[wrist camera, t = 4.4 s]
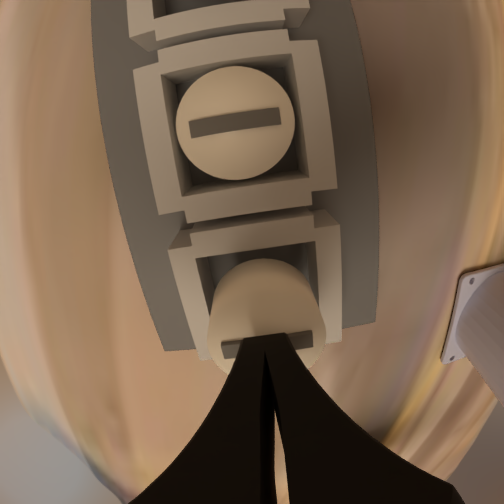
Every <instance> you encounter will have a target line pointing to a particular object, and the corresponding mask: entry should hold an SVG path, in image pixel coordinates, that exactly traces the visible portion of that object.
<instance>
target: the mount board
mask: <svg viewBox="0 0 504 504" xmlns="http://www.w3.org/2000/svg"><path fill="white" fill-rule="evenodd" d="M91 26H92V45H93V58H94V70H95V79H96V88H97V96H98V104H99V111H100V118H101V124H102V130H103V136H104V142H105V147H106V153H107V158H108V163H109V168H110V173H111V177H112V182H113V186H114V191H115V195H116V199H117V203H118V207H119V211H120V215H121V219H122V223H123V227H124V231H125V234H126V238H127V241H128V245H129V249H130V252H131V255H132V259H133V262H134V265H135V269H136V272H137V275H138V278H139V281H140V284H141V287H142V290H143V293H144V296H145V299H146V302H147V305H148V308H149V311H150V314H151V316H152V319H153V322H154V325H155V327H156V330H157V333H158V335H159V338H160V340H161V343H162V346H163V348H164V351H176V350H189V349H197V352H198V355H199V358H200V361H201V360H213V359H212V357H211V356H210V353H209V351H208V346H207V333H208V327H209V321H210V315H211V309H212V303H213V297H214V293H215V289H216V287H217V285H218V283H219V282H220V280H221V279H222V277H223V276H224V275H225V274H226V273H227V272H228V271H229V270H231V269H232V268H234V267H235V266H237V265H239V264H241V263H243V262H246V261H249V260H254V259H262V258H266V259H276V260H280V261H283V262H286V263H288V264H290V265H292V266H293V267H295V268H296V269H298V270H299V271H300V272H301V273H302V274H303V275H304V276H305V278H306V279H307V281H308V283H309V285H310V287H311V290H312V292H313V295H314V297H315V300H316V302H317V305H318V307H319V310H320V312H321V315H322V318H323V320H324V323H325V327H326V343H325V344H329V343H334V342H340V341H341V336H342V329H343V328H348V327H353V326H358V325H363V324H368V323H373V322H375V318H376V305H377V290H378V268H379V198H378V176H377V161H376V148H375V137H374V127H373V118H372V110H371V102H370V95H369V88H368V82H367V76H366V70H365V64H364V59H363V54H362V49H361V44H360V39H359V34H358V30H357V26H356V21H355V17H354V13H353V9H352V5H351V2H350V0H91ZM231 66H242V67H249V68H253V69H256V70H259V71H261V72H263V73H265V74H267V75H268V76H270V77H272V78H273V79H274V80H275V81H276V82H278V84H279V85H280V86H281V87H282V88H283V89H284V91H285V92H286V93H287V95H288V97H289V99H290V101H291V104H292V107H293V111H294V117H295V128H294V134H293V138H292V141H291V144H290V146H289V148H288V150H287V151H286V153H285V154H284V156H283V157H282V158H281V159H280V161H279V162H278V163H277V164H275V165H274V166H273V167H272V168H270V169H269V170H267V171H266V172H264V173H262V174H260V175H258V176H255V177H252V178H247V179H241V180H227V179H221V178H218V177H214V176H212V175H209V174H207V173H205V172H204V171H202V170H200V169H199V168H198V167H196V166H195V165H194V164H193V163H192V162H191V161H190V160H189V159H188V157H187V156H186V155H185V153H184V152H183V150H182V148H181V146H180V143H179V141H178V137H177V132H176V116H177V110H178V107H179V104H180V102H181V100H182V98H183V96H184V94H185V93H186V91H187V90H188V89H189V88H190V86H191V85H192V84H193V83H194V82H195V81H197V80H198V79H199V78H200V77H202V76H203V75H205V74H207V73H209V72H211V71H214V70H216V69H219V68H224V67H231Z"/></svg>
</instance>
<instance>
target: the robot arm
mask: <svg viewBox="0 0 504 504" xmlns="http://www.w3.org/2000/svg"><path fill="white" fill-rule="evenodd" d="M470 279H471V280H470ZM464 357H467V358H468V359H469V361H470V362H471V363H472V365H473V366H474V367H475V368H476V370H477V371H478V372H479V374H480V375H481V376H482V378H483V379H484V380H485V382H486V383H487V385H488V386H489V387H490V389H491V390H492V392H493V393H494V394H495V396H496V397H497V399H498V400H499V401H500V403H501V404H502V405H503V407H504V263H503V264H499V265H496V266H492V267H488V268H485V269H481V270H477V271H473V272H469V273H465V274H463V275H462V276H461V278H460V280H459V285H458V290H457V295H456V300H455V305H454V310H453V314H452V319H451V323H450V327H449V331H448V335H447V339H446V342H445V346H444V350H443V353H442V356H441V362H442V364H448V363H451V362H453V361H456V360H459V359H461V358H464ZM275 413H276V417H277V422H278V426H279V431H280V435H281V440H282V444H283V449H284V454H285V463H286V473H287V482H288V492H289V502H290V504H465V503H464V501H463V500H462V498H461V496H460V495H459V493H458V492H457V490H456V489H455V487H454V486H453V485H452V484H450V483H448V482H445V481H443V480H441V479H439V478H437V477H435V476H433V475H431V474H429V473H427V472H425V471H423V470H421V469H419V468H418V467H416V466H414V465H413V464H411V463H409V462H408V461H406V460H404V459H403V458H401V457H400V456H398V455H397V454H395V453H394V452H392V451H391V450H390V449H388V448H387V447H385V446H384V445H383V444H381V443H380V442H378V441H377V440H376V439H374V438H373V437H372V436H370V435H369V434H368V433H367V432H366V431H364V430H363V429H362V428H361V427H360V426H359V425H357V424H356V423H355V422H354V421H353V420H352V419H351V418H350V417H349V416H348V415H347V414H346V413H345V412H344V411H343V410H342V409H341V408H340V407H339V406H338V405H337V404H336V403H335V402H334V401H333V400H332V399H331V398H330V397H329V395H328V394H327V393H326V392H325V391H324V390H323V389H322V387H321V386H320V385H319V384H318V382H317V381H316V380H315V378H314V377H313V376H312V374H311V373H310V372H309V370H308V369H307V368H306V366H305V365H304V363H303V362H302V360H301V359H300V357H299V355H298V354H297V352H296V350H295V349H294V347H293V345H292V343H291V341H290V339H289V336H288V334H286V333H285V332H283V333H276V334H269V335H262V336H254V337H246V338H243V339H242V340H241V342H240V346H239V349H238V353H237V356H236V358H235V361H234V363H233V366H232V368H231V371H230V373H229V375H228V377H227V379H226V382H225V384H224V386H223V388H222V390H221V392H220V394H219V396H218V397H217V399H216V401H215V403H214V405H213V406H212V408H211V410H210V412H209V413H208V415H207V417H206V418H205V420H204V421H203V423H202V424H201V426H200V427H199V429H198V430H197V432H196V433H195V435H194V436H193V437H192V439H191V440H190V441H189V443H188V444H187V445H186V446H185V448H184V449H183V450H182V451H181V453H180V454H179V455H178V456H177V457H176V459H175V460H174V461H173V462H172V463H171V464H170V465H169V466H168V468H167V469H166V470H165V471H164V472H163V473H162V474H161V475H160V476H159V477H158V478H157V479H155V480H154V481H153V482H152V483H151V484H150V485H149V486H148V487H147V488H146V489H145V490H144V491H143V492H142V493H141V494H139V495H138V496H137V497H136V498H135V499H133V500H132V501H131V502H129V503H128V504H277V496H276V486H275V470H274V452H275Z"/></svg>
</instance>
